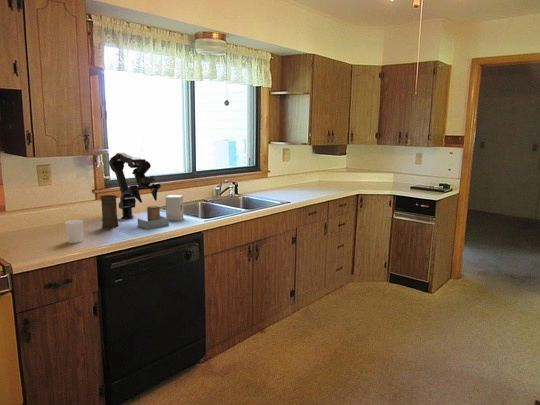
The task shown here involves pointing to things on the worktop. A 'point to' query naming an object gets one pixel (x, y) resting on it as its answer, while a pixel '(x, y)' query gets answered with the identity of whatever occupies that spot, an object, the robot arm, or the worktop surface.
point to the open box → (153, 223)
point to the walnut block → (153, 213)
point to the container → (109, 212)
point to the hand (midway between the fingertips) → (148, 201)
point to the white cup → (74, 231)
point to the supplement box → (174, 207)
